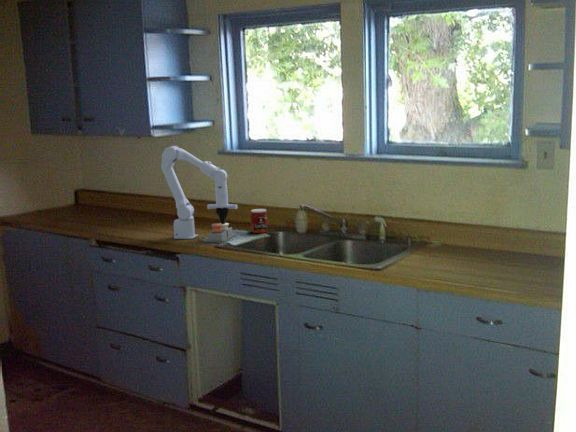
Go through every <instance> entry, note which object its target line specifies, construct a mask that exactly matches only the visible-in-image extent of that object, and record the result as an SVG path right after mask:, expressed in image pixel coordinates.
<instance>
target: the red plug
mask: <svg viewBox="0 0 576 432" xmlns="http://www.w3.org/2000/svg"><path fill="white" fill-rule="evenodd" d="M221 227H222V224H221V222H219V223H217V222H216V223H212V224H211V228H212V231H213V233H218V234H221V233H222V228H221Z"/></svg>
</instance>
